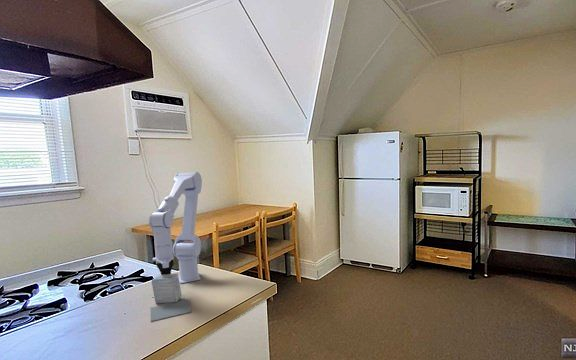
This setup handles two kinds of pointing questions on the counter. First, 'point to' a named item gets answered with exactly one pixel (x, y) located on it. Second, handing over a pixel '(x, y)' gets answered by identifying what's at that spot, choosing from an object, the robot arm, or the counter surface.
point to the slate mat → (170, 310)
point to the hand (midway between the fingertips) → (166, 281)
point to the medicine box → (166, 288)
